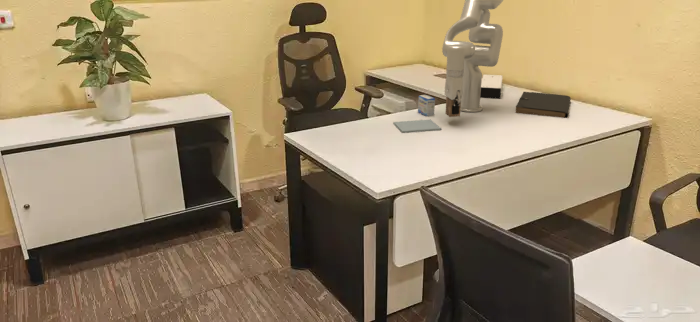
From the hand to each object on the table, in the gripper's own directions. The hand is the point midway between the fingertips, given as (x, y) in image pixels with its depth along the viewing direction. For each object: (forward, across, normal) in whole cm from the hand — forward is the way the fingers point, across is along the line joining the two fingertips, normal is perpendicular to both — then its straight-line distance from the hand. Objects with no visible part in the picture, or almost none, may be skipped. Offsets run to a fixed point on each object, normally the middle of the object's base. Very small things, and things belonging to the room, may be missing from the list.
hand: (452, 111), depth 243 cm
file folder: (+8, -15, +55) cm, 58 cm away
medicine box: (+6, -17, -7) cm, 19 cm away
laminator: (+9, -52, +45) cm, 69 cm away
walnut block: (+2, 0, 0) cm, 2 cm away
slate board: (+5, +2, -18) cm, 18 cm away
